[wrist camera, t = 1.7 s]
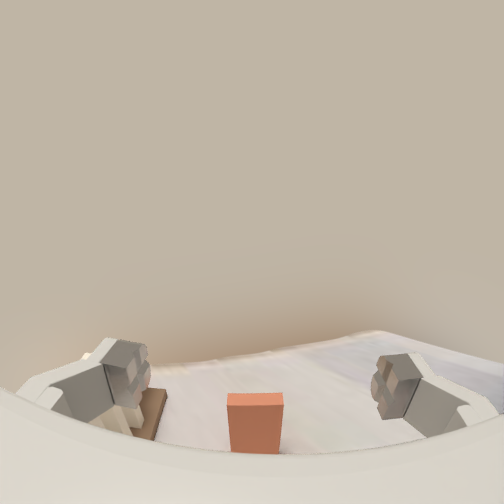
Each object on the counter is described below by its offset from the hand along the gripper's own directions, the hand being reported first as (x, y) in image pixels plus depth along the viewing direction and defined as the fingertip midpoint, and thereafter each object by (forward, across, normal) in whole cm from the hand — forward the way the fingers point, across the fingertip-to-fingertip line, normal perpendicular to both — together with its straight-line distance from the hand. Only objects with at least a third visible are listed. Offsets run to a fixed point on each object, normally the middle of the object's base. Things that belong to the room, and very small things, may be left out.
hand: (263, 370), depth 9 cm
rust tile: (+12, 0, +23) cm, 26 cm away
